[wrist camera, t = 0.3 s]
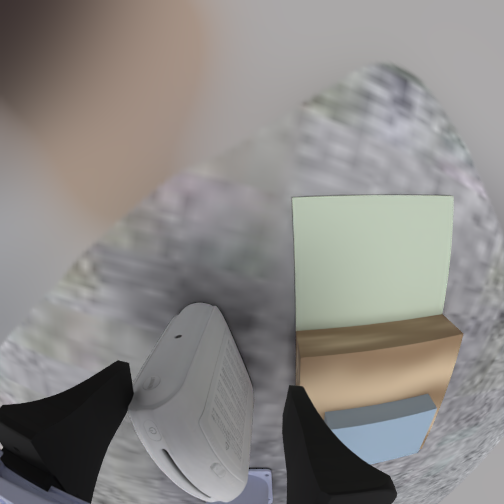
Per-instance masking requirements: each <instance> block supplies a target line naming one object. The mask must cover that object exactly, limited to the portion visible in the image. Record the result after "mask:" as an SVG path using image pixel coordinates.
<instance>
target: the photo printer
mask: <svg viewBox="0 0 504 504" xmlns="http://www.w3.org/2000/svg"><path fill="white" fill-rule="evenodd" d="M132 385H133V391H134V395H133V398H132V401H131V403H130V404H129V406H128V413H129V416H130V419H131V422H132V424H133V427H134V429H135V431H136V433H137V435H138V437H139V439H140V440H141V442H142V444H143V446H144V447H145V449H146V450H147V452H148V453H149V455H150V456H151V458H152V459H153V460H154V462H155V463H156V464H157V465H158V467H159V468H160V469H161V470H162V471H163V472H164V473H165V474H166V475H167V476H168V477H169V478H170V479H171V480H172V481H173V482H174V483H175V484H176V485H178V486H179V487H180V488H181V489H183V490H184V491H186V492H187V493H189V494H191V495H193V496H194V497H197V498H199V499H202V500H205V501H208V502H216V501H222V502H229V501H232V500H233V499H235V498H236V497H238V496H239V495H240V494H241V493H242V491H243V490H244V488H245V486H246V484H247V481H248V472H249V459H250V446H251V433H252V420H253V408H254V392H253V387H252V383H251V380H250V378H249V375H248V372H247V370H246V368H245V365H244V363H243V360H242V358H241V356H240V353H239V351H238V349H237V346H236V344H235V342H234V339H233V337H232V335H231V332H230V330H229V328H228V325H227V323H226V321H225V319H224V317H223V315H222V313H221V312H220V310H219V309H218V307H217V306H211V305H210V304H206V303H193V304H190V305H188V306H186V307H185V308H184V309H183V310H182V311H181V312H180V314H179V315H176V316H174V318H173V319H172V320H171V322H170V323H169V325H168V326H167V328H166V329H165V331H164V333H163V334H162V336H161V337H160V339H159V341H158V342H157V344H156V346H155V347H154V349H153V350H152V352H151V354H150V355H149V357H148V359H147V360H146V362H145V363H144V365H143V367H142V368H141V370H140V372H139V374H138V375H137V377H136V379H135V380H134V382H133V384H132Z"/></svg>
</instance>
